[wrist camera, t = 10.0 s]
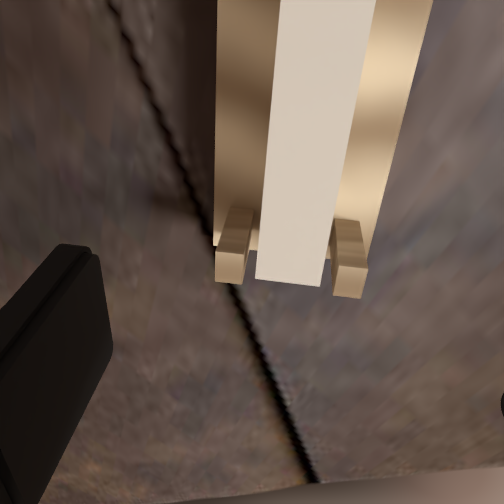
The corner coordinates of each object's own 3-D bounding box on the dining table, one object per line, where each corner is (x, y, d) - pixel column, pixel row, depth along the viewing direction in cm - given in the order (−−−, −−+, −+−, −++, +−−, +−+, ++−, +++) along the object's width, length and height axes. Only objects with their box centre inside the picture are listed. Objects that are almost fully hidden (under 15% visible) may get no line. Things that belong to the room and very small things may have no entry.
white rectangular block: (293, -83, 19) (289, -94, 15) (374, -77, 19) (393, -86, 15) (263, 231, 28) (255, 278, 24) (318, 237, 28) (319, 286, 24)
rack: (223, -129, 19) (193, -159, 14) (456, -114, 19) (508, -139, 14) (216, 237, 30) (197, 293, 25) (364, 254, 29) (375, 314, 24)
